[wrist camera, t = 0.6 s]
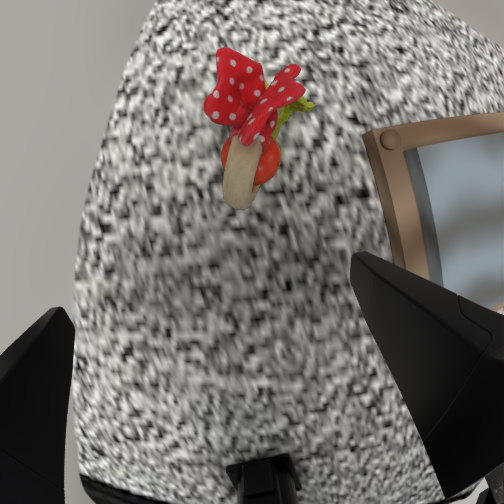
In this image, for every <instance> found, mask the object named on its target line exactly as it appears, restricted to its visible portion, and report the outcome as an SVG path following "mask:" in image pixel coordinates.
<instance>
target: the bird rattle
mask: <svg viewBox="0 0 504 504" xmlns="http://www.w3.org/2000/svg"><path fill="white" fill-rule="evenodd" d="M216 63H217V76H218V83H217V86H216V87H215V89H214V90H213V91H212V92H210V93H209V95H208V96H207V97H206V99H205V101H204V112H205V114H206V115H207V116H208V117H209V118H210V119H211V121H212V122H214V123H217V124H221V125H226V126H233V128H232V130H231V133H230V137H229V138H228V139H227V140H226V142H225V143H224V146H223V148H222V152H221V160H222V165H223V168H224V170H225V172H224V178H223V198H224V201H225V203H226V204H227V205H229V206H230V207H232V208H235V209H239V210H245V209H247V208H248V207H249V206H250V205H251V204H252V202H253V200H254V198H255V196H256V194H257V192H258V190H259V187H260V185H261V184H263V183H265V182H267V181H268V180H270V179H271V178H272V177H273V176H274V175H275V173H276V172H277V170H278V168H279V166H280V163H281V151H280V147H279V145H278V143H277V141H276V136H277V135H278V133H279V129H280V126H281V125H282V124H283V123H285V122H286V121H287V120H288V119H289V117H290V116H291V114H292V113H293V112H294V111H304V112H309V111H310V110H311V109H313V108H314V107H315V104H314V103H313V102H306V99H305V98H304V97H302V96H303V95H304V93H305V91H306V90H305V88H304V87H303V86H302V84H301V83H300V82H299V81H298V80H296V79H294V78H295V77H297V76H298V75H299V73H300V71H301V68H300V67H299V66H298V65H296V64H291V65H289V66H287V67H285V68H284V69H282V70H281V71H280V72H279V73H277V74H276V76H275V78H274V80H273V82H272V83H271V84H270V86H268V84H267V83H266V81H265V80H264V75H263V69H262V64H260V63H257V62H255V61H253V60H251V59H249V58H247V57H245V56H244V55H242V54H240V53H239V52H236V51H234V50H232V49H230V48H220V49H218V50H217V52H216Z"/></svg>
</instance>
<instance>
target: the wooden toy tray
mask: <svg viewBox="0 0 504 504" xmlns="http://www.w3.org/2000/svg"><path fill="white" fill-rule="evenodd" d="M362 137H363V140H364V143H365V146H366V150H367V153H368V156H369V160H370V163H371V166H372V170H373V173H374V177H375V181H376V184H377V188H378V192H379V196H380V200H381V204H382V208H383V212H384V216H385V221H386V225H387V230H388V234H389V239H390V244H391V249H392V254H393V259H394V264H395V265H397V266H399V267H401V268H404V269H406V270H408V271H410V272H412V273H414V274H417V275H419V276H421V277H423V278H425V279H427V280H429V281H431V282H433V283H436V284H438V285H440V286H442V287H444V288H446V289H448V290H450V291H452V292H454V293H456V294H457V296H458V295H460V296H462V297H464V298H466V299H468V300H471V301H473V302H475V303H477V304H479V305H481V306H483V307H486V308H488V309H490V310H493V311H497V310H499V309H500V308H502V307H503V306H504V112H499V113H487V114H476V115H467V116H458V117H450V118H442V119H435V120H428V121H421V122H415V123H408V124H402V125H396V126H391V127H385V128H380V129H374V130H371V131H369V132H367V133H366V134H364V135H362Z"/></svg>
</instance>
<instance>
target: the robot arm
mask: <svg viewBox="0 0 504 504" xmlns="http://www.w3.org/2000/svg"><path fill="white" fill-rule="evenodd" d="M350 281H351V285H352V287H353V290H354V292H355V295H356V297H357V300H358V302H359V305H360V308H361V310H362V313H363V315H364V318H365V321H366V323H367V325H368V327H369V329H370V331H371V333H372V335H373V337H374V339H375V341H376V343H377V345H378V347H379V349H380V351H381V353H382V355H383V357H384V359H385V361H386V363H387V365H388V367H389V369H390V371H391V373H392V375H393V378H394V380H395V382H396V384H397V386H398V388H399V390H400V392H401V394H402V397H403V399H404V401H405V403H406V405H407V407H408V410H409V412H410V414H411V416H412V418H413V421H414V423H415V425H416V427H417V430H418V432H419V434H420V437H421V439H422V441H423V444H424V446H425V449H426V451H427V454H428V456H429V458H430V461H431V463H432V466H433V468H434V471H435V473H436V476H437V478H438V481H439V484H440V486H441V489H442V491H443V494H444V497H445V499H446V500H448V499H449V498H451V497H453V496H455V495H456V494H458V493H460V492H462V491H463V490H465V489H467V488H468V487H470V486H471V485H473V484H475V483H476V482H478V481H479V480H481V479H482V478H484V477H485V479H486V481H487V484H488V486H489V488H487V489H486V490H484V491H483V492H481V493H480V494H479V497H478V500H477V502H476V504H504V315H502V314H500V313H497V312H495V311H493V310H490V309H488V308H486V307H483V306H481V305H479V304H477V303H475V302H473V301H471V300H468V299H466V298H464V297H462V296H460V295H458V296H457V294H456V293H454V292H452V291H450V290H448V289H446V288H444V287H442V286H440V285H438V284H436V283H433V282H431V281H429V280H427V279H425V278H423V277H421V276H419V275H417V274H414V273H412V272H410V271H408V270H406V269H404V268H401V267H399V266H397V265H395V264H393V263H391V262H388V261H386V260H384V259H382V258H379V257H377V256H375V255H373V254H371V253H368V252H366V251H362V252H357V253H353V254H352V256H351V266H350ZM74 341H75V327H74V325H73V323H72V321H71V320H70V318H69V316H68V315H67V313H66V311H65V310H64V309H63V308H62V307H54V308H51V309H49V310H48V311H47V312H46V313H45V314H44V315H43V316H41V317H40V318H39V319H38V320H37V321H36V322H35V323H34V324H33V325H32V326H30V327H29V328H28V329H27V330H26V331H25V332H24V333H23V334H22V335H21V336H20V337H19V338H18V339H17V340H15V341H14V342H13V343H12V344H11V345H10V346H9V347H8V348H7V349H6V350H5V351H4V352H3V353H2V354H1V355H0V504H65V494H64V462H65V461H64V460H65V438H66V425H67V414H68V404H69V395H70V387H71V380H72V371H73V355H74ZM285 458H286V459H285ZM226 473H227V475H228V476H229V478H230V480H231V481H232V483H233V485H234V486H235V488H236V489H237V492H238V504H299V503H298V498H297V494H296V491H299V490H301V488H302V487H301V483H300V481H299V478H298V476H297V473H296V470H295V468H294V465H293V462H292V460H291V457H290V455H288V454H283V455H279V456H275V457H271V458H266V459H262V460H257V461H253V462H248V463H243V464H238V465H232V466H228V467H226Z"/></svg>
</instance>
